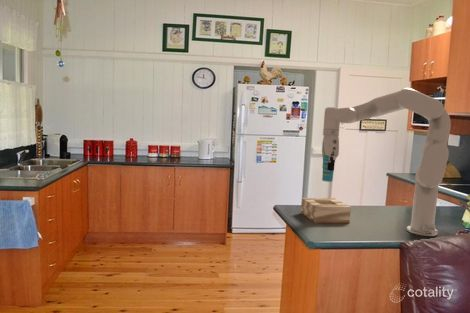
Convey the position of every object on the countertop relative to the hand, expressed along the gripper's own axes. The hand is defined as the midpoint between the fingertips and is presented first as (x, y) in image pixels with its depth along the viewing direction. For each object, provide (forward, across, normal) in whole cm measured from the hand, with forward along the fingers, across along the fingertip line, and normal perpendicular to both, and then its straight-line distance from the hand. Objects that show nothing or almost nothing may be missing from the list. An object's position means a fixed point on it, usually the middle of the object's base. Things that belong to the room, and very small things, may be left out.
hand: (328, 169), depth 187 cm
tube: (+6, 0, 0) cm, 6 cm away
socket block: (+25, 0, 0) cm, 25 cm away
